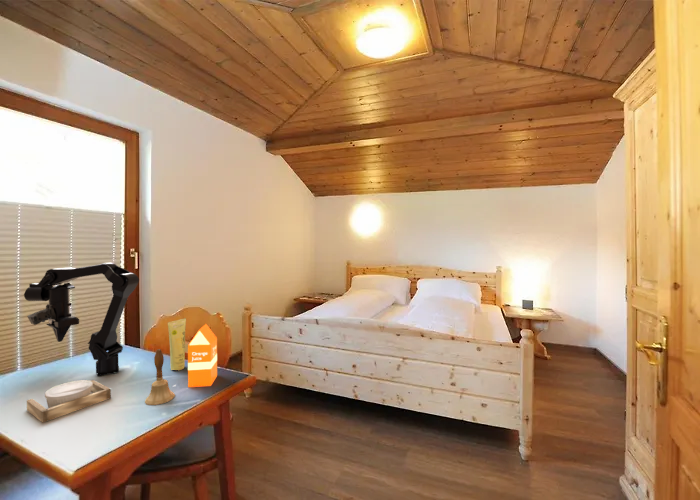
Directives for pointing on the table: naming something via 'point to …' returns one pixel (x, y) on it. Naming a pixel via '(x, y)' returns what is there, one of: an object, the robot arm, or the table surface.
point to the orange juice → (202, 358)
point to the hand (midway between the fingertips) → (59, 341)
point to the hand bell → (159, 384)
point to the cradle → (69, 404)
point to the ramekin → (68, 392)
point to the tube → (177, 343)
